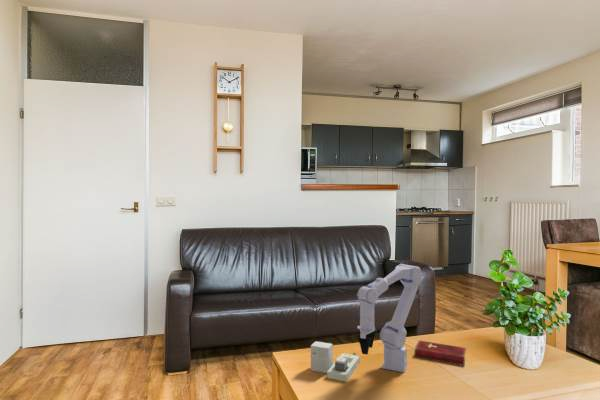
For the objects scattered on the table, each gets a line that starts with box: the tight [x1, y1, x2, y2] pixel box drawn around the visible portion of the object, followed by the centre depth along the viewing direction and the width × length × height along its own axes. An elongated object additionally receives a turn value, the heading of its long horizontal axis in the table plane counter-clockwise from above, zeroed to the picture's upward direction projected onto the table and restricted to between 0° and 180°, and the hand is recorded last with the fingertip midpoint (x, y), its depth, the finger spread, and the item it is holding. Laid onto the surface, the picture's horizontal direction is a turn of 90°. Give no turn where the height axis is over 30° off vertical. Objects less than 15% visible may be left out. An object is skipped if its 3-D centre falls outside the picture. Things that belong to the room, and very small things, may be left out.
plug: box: [334, 356, 347, 372], centre depth 155 cm, size 4×4×6 cm
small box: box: [310, 341, 334, 374], centre depth 160 cm, size 8×6×10 cm
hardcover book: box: [413, 339, 467, 366], centre depth 174 cm, size 12×21×4 cm, turn 63°
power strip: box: [326, 352, 361, 383], centre depth 163 cm, size 8×27×3 cm, turn 156°
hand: (367, 350), depth 155 cm, fingers open, 7 cm apart
